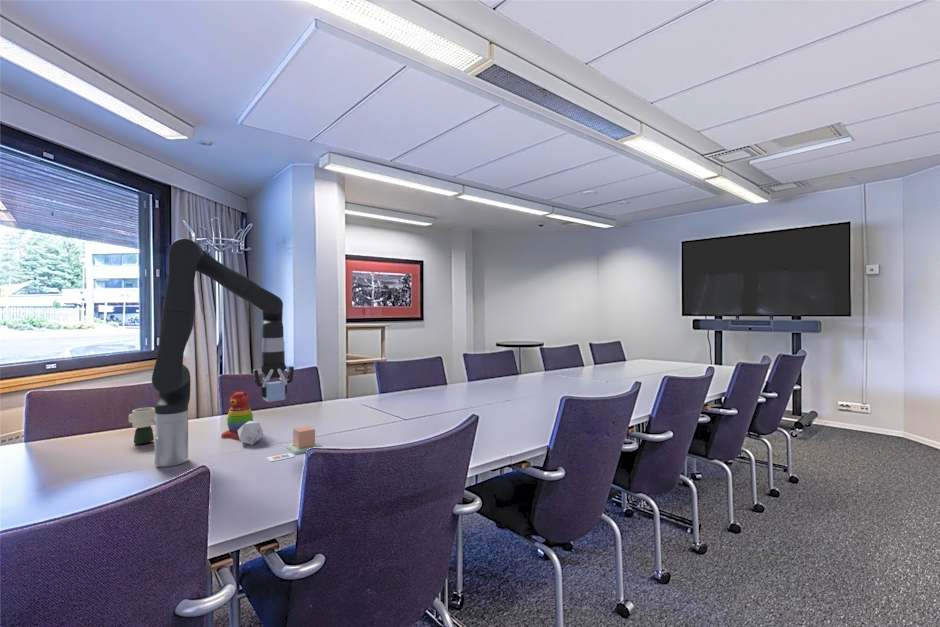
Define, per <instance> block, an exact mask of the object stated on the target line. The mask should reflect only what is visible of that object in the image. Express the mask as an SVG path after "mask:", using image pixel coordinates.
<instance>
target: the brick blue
mask: <svg viewBox="0 0 940 627" xmlns="http://www.w3.org/2000/svg"><path fill="white" fill-rule="evenodd" d="M265 387H266V398H263V397H262V400H264V401H266V402H267V403H268V402H269V403H271V402H276V401H277V402H278V401H285V400H286V393H285V383H283V382H281V380H279V381H278V380H277V381H268V382H267V384H266V386H265Z"/></svg>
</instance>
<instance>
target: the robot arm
mask: <svg viewBox="0 0 940 627" xmlns="http://www.w3.org/2000/svg"><path fill="white" fill-rule="evenodd" d="M197 272H198V273H200V274H201V275H202V274H203V275H204V276H206V277H208V278H209V279H212V280H213V281H215V282H217V284H219V285H220V286H222V287H223V288H225V289H226V290H228V291H229V292H230V293H232V294H234V295H235V296H238V297H239V298H241V299H243V300H244V301H246V302H249V303H251V304H252V305H253V306H255V307H256V308H258V309H260V310H261V311H262V326H261V327H262V330H261V332H262V336H261V337H262V339H261V340H262V341H261V367H260V368H257V369H255V368H254V369H252V375H253V380H254V385H255V386H256V387H260V396H261V397H262V399H263V398H266V387H265V386H266V384H267V382H270V379H274V378H275V379H279V381H281V382H283V383H285V394H287V393H288V384H289V383H293V378H294V370H295V367H294V366H292V365H289V366H288V365H286V364H285V362H286V358H285V357H286V356H285V355H286V354H285V352H286V351H285V340H284V325H283V324H284V323H283V314H284V312H283V311H284V310H283V309H284V303H283V300H282V299H281V298H280V297H279V296H278V295H276V294H274V293H273V292H271V291H269V290H267V289H265V288H263V287H261V285H259V284H257V283H256V282H255V281H253V280H251V279H249V278H248V277H247V276H244V275H243V274H241V273H240V272H238V271H236V270H234V269H232V268H230V267H229V266H226V265H225V264H223V263H222V262H219V261H218V260H217V259H215V258H214V257H213V256H212V255H211V254H209V253H208V252H206V251H205V250H204V249H203V248H202V246H200V245H199V243H197V242H196V241H194V240H193V239H190V238H184V237H183V238H178V239H176V240H174V241H173V242H172V243H171V244H170V246H169V248H168V277H167V278H168V280H167V283H166V288H165V293H164V297H163V298H164V299H163V304H162V311H161V312H162V313H161V318H160V320H161V321H160V330H159V331H160V332H159V340H158V341H159V342H158V350H157V356H156V360H155V362H154V367H153V370H152V376H151V383H152V386H153V388H154V389H155V390H156V391H157V392H159V394H158V399H157V401H156V403H155V407H154V408H155V423H154V427H155V431H154V432H155V433H154V465H155V467H156V468H161V467H164V468H165V467H173V466H178V465H181V464H184V463H187V462H188V461H189V403H190V400H191V381H192V380H191V372H190V370H189V368H188V367H187V366H186V365H185V364H184V355H185V354H184V353H185V351H186V350H185V349H186V346H187V343H188V342H189V339H190V336H191V334H192V332H193V329H194V325H195V318H196V317H195V315H196V307H197V306H196V305H197V303H196V294H195V293H196V292H195V291H196V290H195V278H196V273H197ZM285 371H286V372H287V378H286V377H285V376H284V372H285ZM261 372H262V373H263V376H262V380H260V375H261Z"/></svg>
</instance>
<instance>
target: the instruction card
mask: <svg viewBox="0 0 940 627" xmlns="http://www.w3.org/2000/svg"><path fill="white" fill-rule="evenodd" d="M295 457H296V456H295V454H292V452H287V453H283V454H277V455H272V456H267V457H266V459H267V460H268V461H269V462H270V463H272V462H277V461H282V460H286V459H287V460H288V459H291V458H292V459H293V458H295Z"/></svg>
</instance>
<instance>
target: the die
mask: <svg viewBox="0 0 940 627" xmlns="http://www.w3.org/2000/svg"><path fill="white" fill-rule="evenodd" d="M237 431H238V435H239V439H238V440H239V441H241V443H242V444H245V445H251V446H253V445H254V444H256V443H257V442H258V441H259V440H260V439H261V438H263V436H264V435H265V434H264V430H263V428H262V425H261V424H260V422H259V421H254V420H253V421H248V422H247V423H245V424H244V425H243V426H242V427H241V428H240V429H238V430H237Z"/></svg>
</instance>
